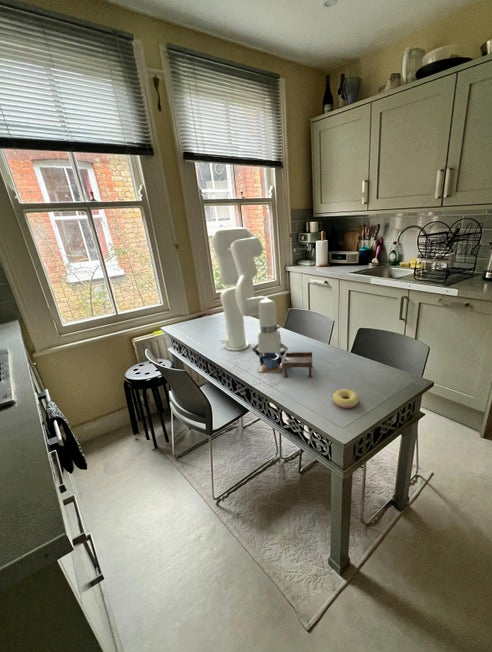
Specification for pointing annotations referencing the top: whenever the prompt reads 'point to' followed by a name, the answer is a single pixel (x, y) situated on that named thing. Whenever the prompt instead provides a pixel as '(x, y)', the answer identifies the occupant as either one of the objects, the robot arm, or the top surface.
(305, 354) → the stand
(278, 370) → the mat
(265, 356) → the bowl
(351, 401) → the donut
